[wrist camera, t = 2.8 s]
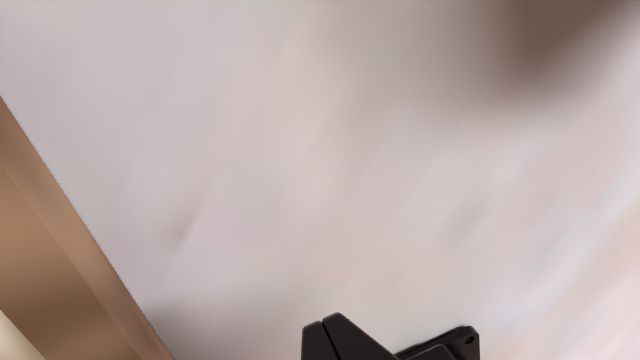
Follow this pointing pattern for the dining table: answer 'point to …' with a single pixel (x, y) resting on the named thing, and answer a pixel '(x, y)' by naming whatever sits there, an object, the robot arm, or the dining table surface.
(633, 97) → the dining table surface
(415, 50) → the dining table surface
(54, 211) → the serving board
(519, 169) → the dining table surface
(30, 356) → the coaster
